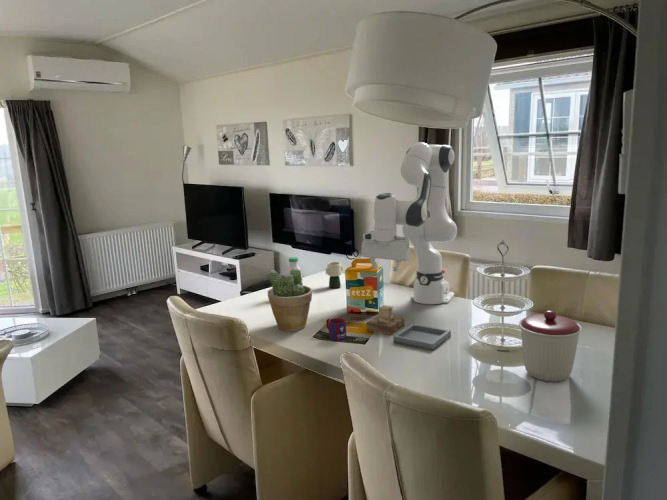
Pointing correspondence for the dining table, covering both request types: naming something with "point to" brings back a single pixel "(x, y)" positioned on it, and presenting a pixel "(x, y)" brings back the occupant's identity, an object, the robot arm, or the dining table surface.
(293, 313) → the potted plant
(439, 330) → the tray
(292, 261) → the milk bottle
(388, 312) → the peg
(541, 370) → the canister
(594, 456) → the dining table surface
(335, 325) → the cup
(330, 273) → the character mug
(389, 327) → the collar
